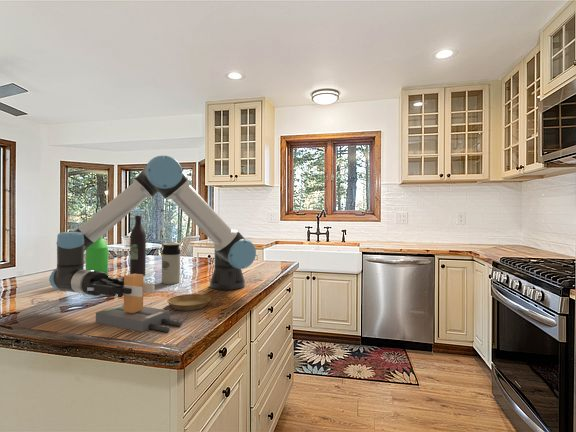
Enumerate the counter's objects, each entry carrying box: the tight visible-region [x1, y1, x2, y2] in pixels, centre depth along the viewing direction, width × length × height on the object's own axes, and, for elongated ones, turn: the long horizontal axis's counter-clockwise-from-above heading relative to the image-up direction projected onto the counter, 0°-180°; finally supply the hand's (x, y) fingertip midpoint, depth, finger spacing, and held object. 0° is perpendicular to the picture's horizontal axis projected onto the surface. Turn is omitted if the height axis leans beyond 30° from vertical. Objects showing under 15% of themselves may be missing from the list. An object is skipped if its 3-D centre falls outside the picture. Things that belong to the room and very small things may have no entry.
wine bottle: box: [129, 215, 147, 277], centre depth 171 cm, size 7×7×30 cm
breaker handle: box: [123, 273, 144, 313], centre depth 103 cm, size 4×4×11 cm
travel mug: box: [161, 242, 181, 285], centre depth 158 cm, size 8×8×18 cm
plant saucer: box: [166, 293, 212, 311], centre depth 121 cm, size 15×15×3 cm
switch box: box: [95, 303, 183, 333], centre depth 102 cm, size 25×11×3 cm, turn 68°
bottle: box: [85, 236, 109, 276], centre depth 156 cm, size 9×9×25 cm
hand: (147, 290), depth 101 cm, fingers closed on breaker handle, 4 cm apart
